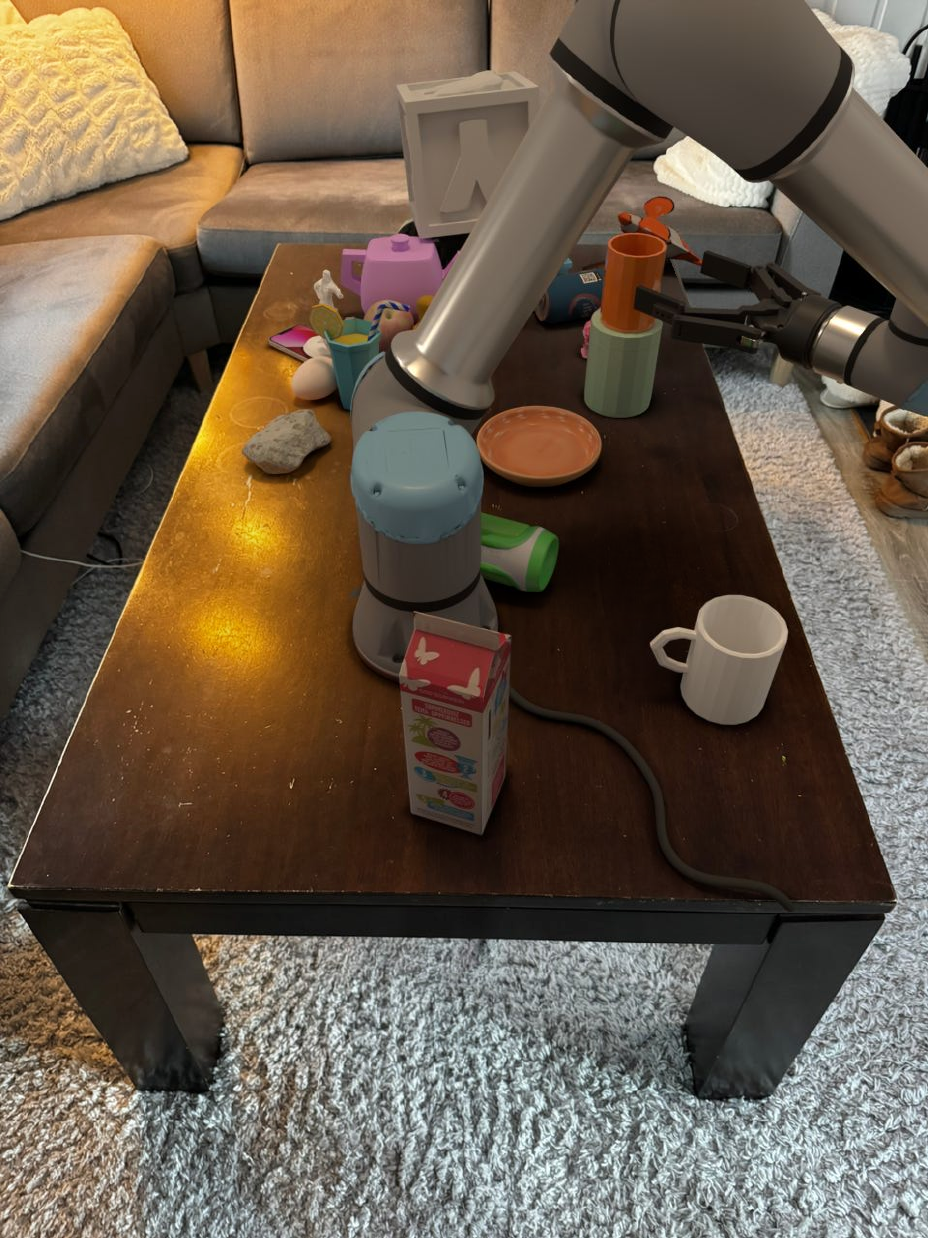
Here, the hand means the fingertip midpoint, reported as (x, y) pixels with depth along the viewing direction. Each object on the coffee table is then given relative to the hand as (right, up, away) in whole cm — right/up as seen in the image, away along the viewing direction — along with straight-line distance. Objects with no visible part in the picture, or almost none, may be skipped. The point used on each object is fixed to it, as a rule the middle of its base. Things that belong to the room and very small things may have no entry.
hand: (670, 278), depth 110 cm
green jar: (-4, -11, +17) cm, 20 cm away
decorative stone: (-48, -20, +8) cm, 53 cm away
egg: (-43, -6, +18) cm, 47 cm away
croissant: (+1, +19, +39) cm, 44 cm away
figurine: (-46, -1, +25) cm, 52 cm away
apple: (-36, 0, +28) cm, 46 cm away
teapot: (-35, +7, +35) cm, 50 cm away
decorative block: (-24, +23, +36) cm, 49 cm away
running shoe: (-23, +22, +42) cm, 52 cm away
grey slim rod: (-43, +5, +33) cm, 55 cm away
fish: (+10, +21, +39) cm, 45 cm away
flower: (-3, -1, +26) cm, 27 cm away
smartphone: (-42, -4, +23) cm, 48 cm away
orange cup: (-4, -2, +8) cm, 10 cm away
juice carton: (-26, -58, -29) cm, 70 cm away
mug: (-2, -49, -21) cm, 54 cm away
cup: (-39, -11, +17) cm, 44 cm away
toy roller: (-27, -2, +26) cm, 38 cm away
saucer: (-16, -21, +7) cm, 27 cm away
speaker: (-26, -34, -14) cm, 45 cm away
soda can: (-2, +11, +33) cm, 35 cm away
